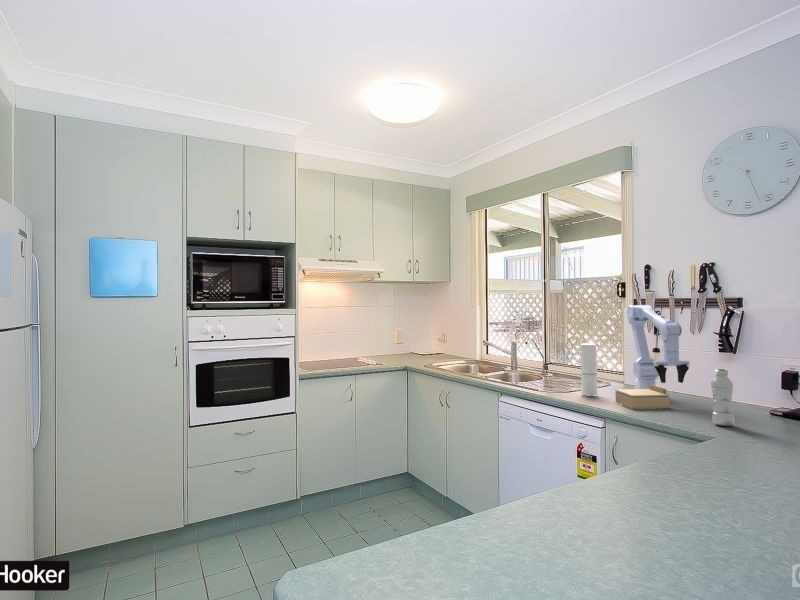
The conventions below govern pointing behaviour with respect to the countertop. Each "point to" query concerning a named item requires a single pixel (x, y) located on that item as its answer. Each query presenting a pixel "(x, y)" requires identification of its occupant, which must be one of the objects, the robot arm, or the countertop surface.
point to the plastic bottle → (722, 399)
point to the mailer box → (643, 401)
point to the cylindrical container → (588, 369)
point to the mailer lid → (644, 392)
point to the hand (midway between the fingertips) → (671, 382)
